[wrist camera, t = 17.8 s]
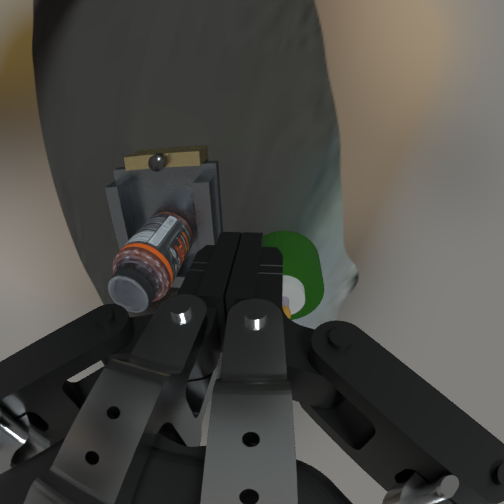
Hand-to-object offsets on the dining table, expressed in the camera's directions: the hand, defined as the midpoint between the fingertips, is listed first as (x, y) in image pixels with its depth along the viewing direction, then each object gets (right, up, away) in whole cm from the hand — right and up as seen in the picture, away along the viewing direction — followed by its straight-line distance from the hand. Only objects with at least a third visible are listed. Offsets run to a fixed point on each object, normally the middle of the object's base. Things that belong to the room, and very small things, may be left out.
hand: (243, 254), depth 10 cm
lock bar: (-8, +10, +17) cm, 21 cm away
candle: (+4, -1, +23) cm, 23 cm away
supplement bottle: (-9, +2, +21) cm, 23 cm away
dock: (-9, +4, +21) cm, 23 cm away
